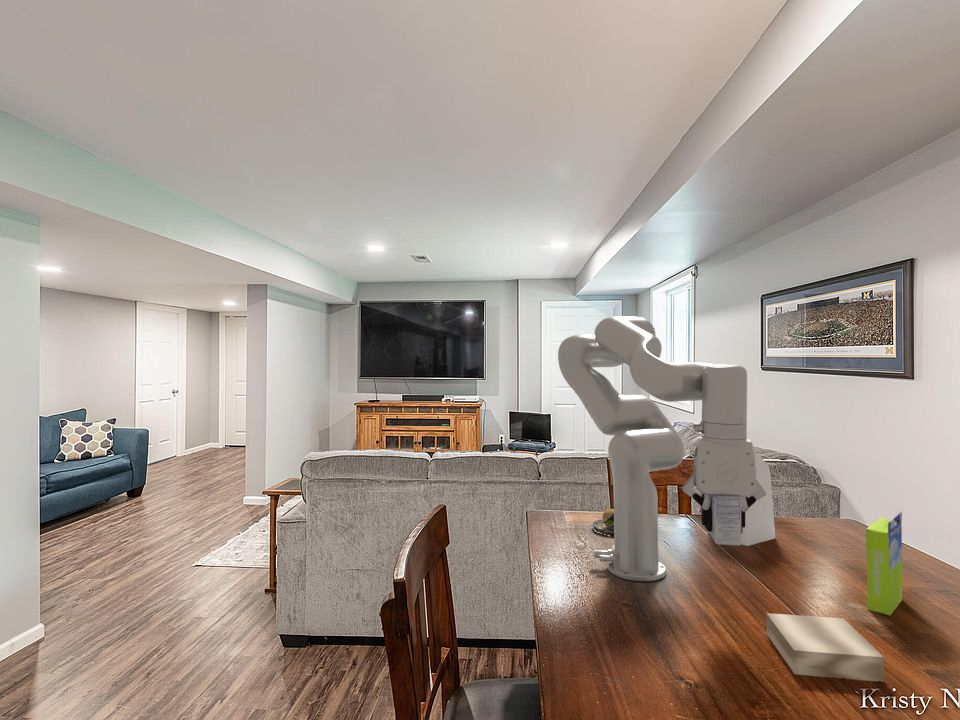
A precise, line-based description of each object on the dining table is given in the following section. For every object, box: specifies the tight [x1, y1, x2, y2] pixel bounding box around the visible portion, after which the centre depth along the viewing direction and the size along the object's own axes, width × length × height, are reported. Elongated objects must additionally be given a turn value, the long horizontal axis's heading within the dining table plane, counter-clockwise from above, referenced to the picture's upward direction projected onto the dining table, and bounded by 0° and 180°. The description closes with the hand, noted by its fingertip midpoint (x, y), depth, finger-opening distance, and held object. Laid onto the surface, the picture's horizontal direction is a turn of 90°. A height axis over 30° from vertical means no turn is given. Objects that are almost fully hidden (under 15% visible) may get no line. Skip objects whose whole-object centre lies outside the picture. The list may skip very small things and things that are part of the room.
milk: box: [706, 439, 776, 547], centre depth 143 cm, size 12×12×26 cm
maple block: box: [766, 612, 885, 683], centre depth 85 cm, size 12×12×4 cm
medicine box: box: [708, 495, 742, 547], centre depth 98 cm, size 8×4×9 cm, turn 168°
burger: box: [592, 503, 614, 537], centre depth 149 cm, size 12×12×8 cm
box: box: [865, 511, 903, 617], centre depth 102 cm, size 10×4×17 cm, turn 132°
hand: (722, 529), depth 98 cm, fingers closed on medicine box, 4 cm apart
